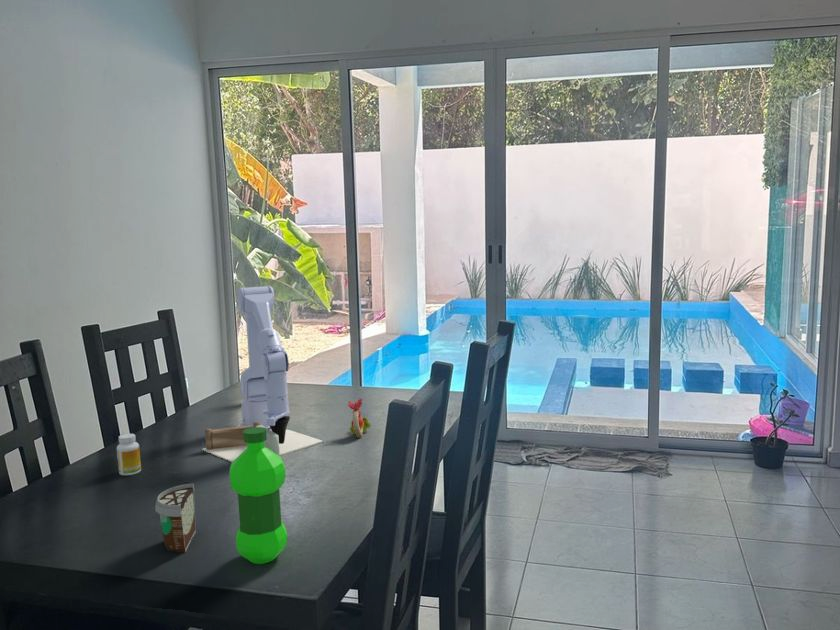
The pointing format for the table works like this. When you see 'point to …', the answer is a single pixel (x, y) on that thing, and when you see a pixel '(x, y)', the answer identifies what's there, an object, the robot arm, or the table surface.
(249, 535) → the plastic bottle
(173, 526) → the food container
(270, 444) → the fence gate
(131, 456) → the supplement bottle
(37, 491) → the table surface
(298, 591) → the table surface
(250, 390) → the robot arm
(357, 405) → the bird rattle
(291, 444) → the board
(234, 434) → the bar
